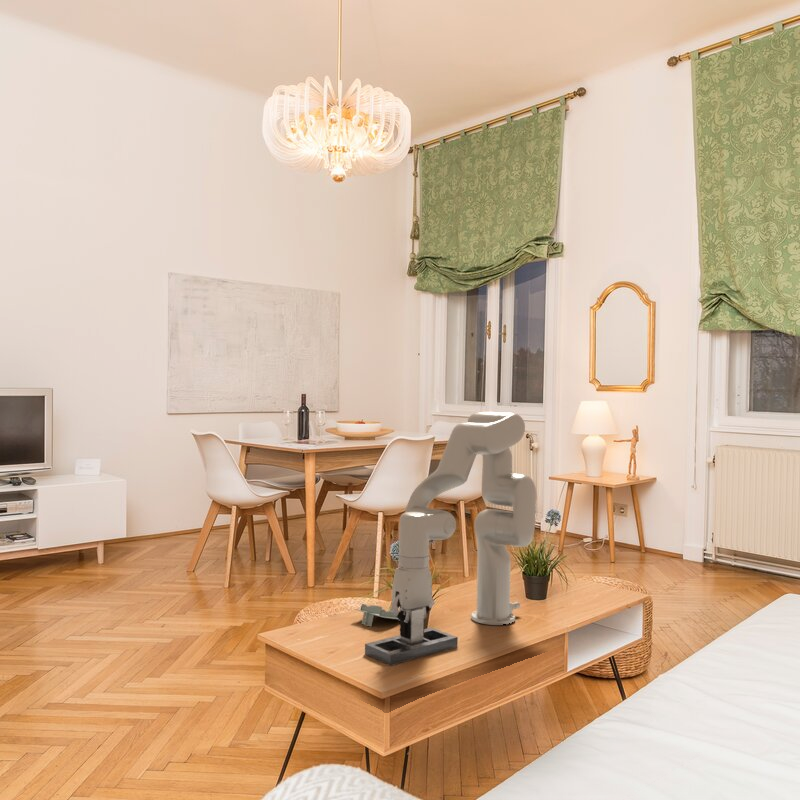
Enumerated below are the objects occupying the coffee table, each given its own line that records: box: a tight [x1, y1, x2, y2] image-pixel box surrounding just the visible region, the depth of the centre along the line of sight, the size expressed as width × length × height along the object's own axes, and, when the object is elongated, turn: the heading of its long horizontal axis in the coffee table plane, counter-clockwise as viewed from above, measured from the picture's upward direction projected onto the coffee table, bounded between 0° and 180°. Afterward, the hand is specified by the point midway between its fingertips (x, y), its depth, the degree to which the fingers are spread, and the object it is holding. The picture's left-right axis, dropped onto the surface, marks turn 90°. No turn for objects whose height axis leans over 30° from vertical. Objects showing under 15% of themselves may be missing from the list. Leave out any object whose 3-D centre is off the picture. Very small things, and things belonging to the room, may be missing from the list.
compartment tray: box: [364, 627, 458, 667], centre depth 181 cm, size 22×10×2 cm, turn 130°
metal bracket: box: [354, 603, 398, 627], centre depth 205 cm, size 14×6×15 cm
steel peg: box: [401, 608, 425, 646], centre depth 181 cm, size 4×4×9 cm
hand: (412, 634), depth 181 cm, fingers closed on steel peg, 3 cm apart
